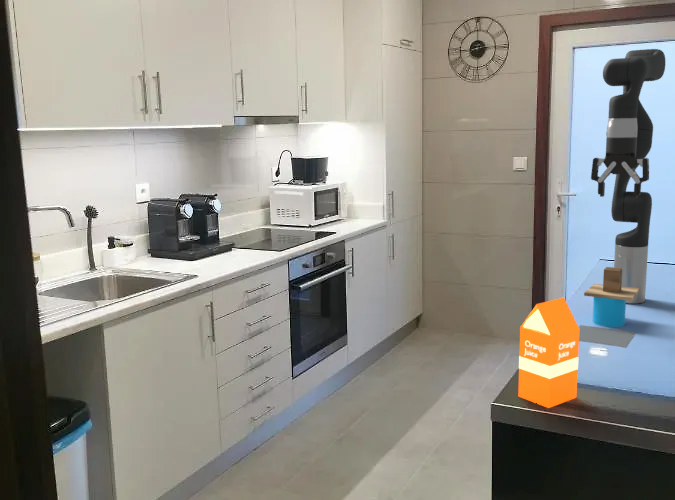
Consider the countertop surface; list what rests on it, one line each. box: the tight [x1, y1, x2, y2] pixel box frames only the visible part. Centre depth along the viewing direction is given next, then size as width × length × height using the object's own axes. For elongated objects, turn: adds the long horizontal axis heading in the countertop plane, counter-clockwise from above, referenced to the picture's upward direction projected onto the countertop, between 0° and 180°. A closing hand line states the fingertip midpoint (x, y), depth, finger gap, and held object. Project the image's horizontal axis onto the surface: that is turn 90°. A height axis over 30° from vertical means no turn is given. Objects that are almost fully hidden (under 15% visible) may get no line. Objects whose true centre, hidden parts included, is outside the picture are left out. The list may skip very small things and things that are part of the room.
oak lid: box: [583, 266, 640, 301], centre depth 190 cm, size 12×12×7 cm
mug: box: [592, 297, 627, 328], centre depth 191 cm, size 12×8×8 cm
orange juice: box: [517, 297, 580, 409], centre depth 139 cm, size 8×9×20 cm
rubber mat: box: [578, 324, 637, 348], centre depth 179 cm, size 14×14×1 cm
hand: (618, 196), depth 188 cm, fingers open, 8 cm apart
